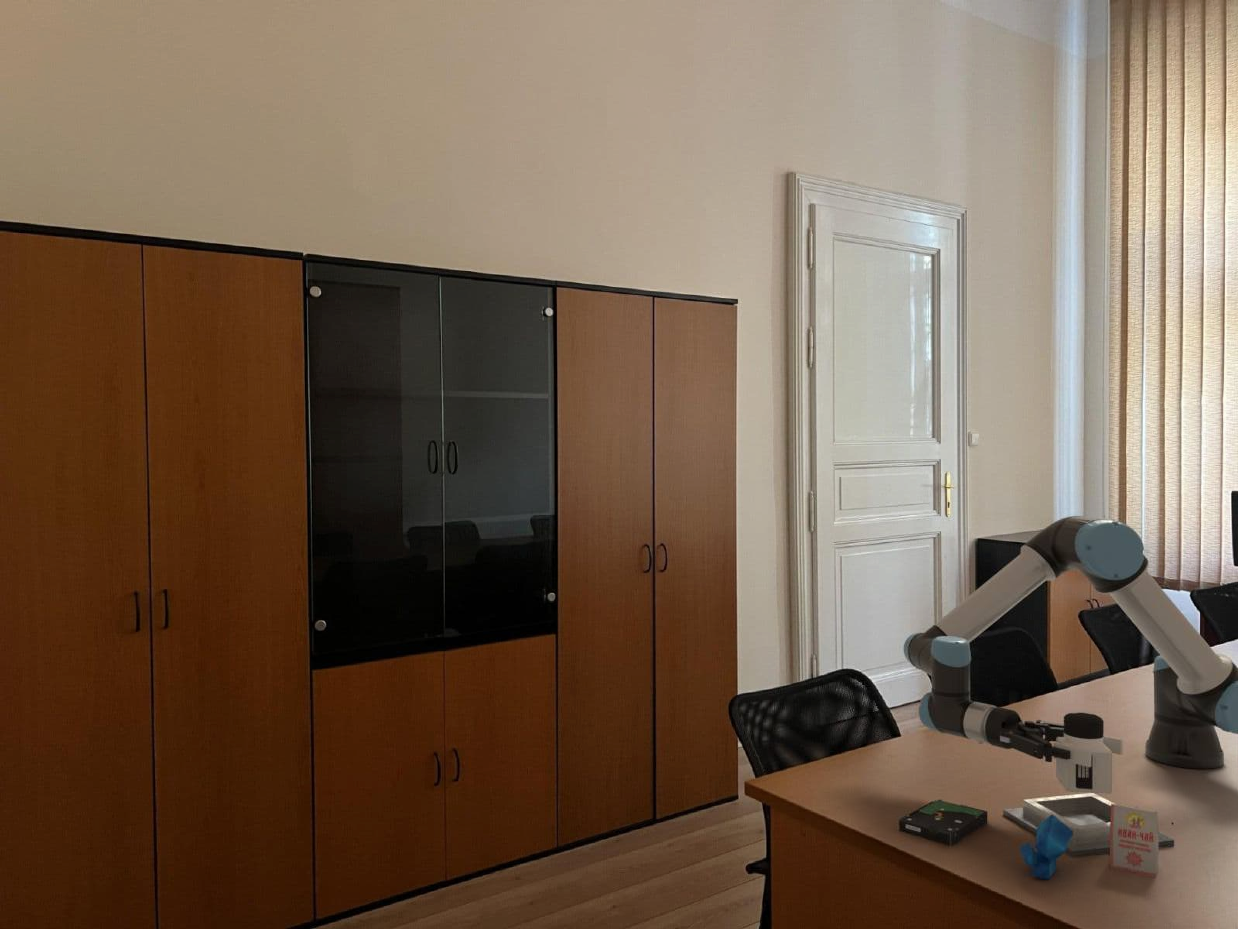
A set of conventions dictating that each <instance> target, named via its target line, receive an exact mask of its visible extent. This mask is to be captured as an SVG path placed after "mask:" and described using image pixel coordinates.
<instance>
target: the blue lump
mask: <svg viewBox="0 0 1238 929" xmlns="http://www.w3.org/2000/svg"><path fill="white" fill-rule="evenodd" d="M1072 835H1073V831H1072V830H1071V829H1070V828H1068V827H1067V826H1066V825H1065V824H1064V823H1062V822H1061V821H1060V820H1059V819H1058V818H1057V817H1055V816H1054V815H1050V816H1049V817H1048V818H1047V819H1046V820H1044V821H1043V822H1042V823H1041V824H1040V825H1038V829H1037V835H1036V838H1035V844H1034V847H1035V849H1034V847H1033V845H1032V843H1030V842H1027V843H1025V844H1022V845H1020V846H1019V851H1020V852H1021V855H1022V857H1023V860H1024V862H1025V863H1026V865H1027V867H1032V876H1033V877H1034V878H1038V879H1041V880H1042V879H1043V880H1046V881H1048V880H1049V879H1051V877H1052V875H1053V874H1054V872H1055V870H1056V869H1057V868H1058V865H1057V862H1058V859H1059V858H1060V857H1061V856H1062V855H1063V854H1065V850H1066V848H1067V846H1068V844H1069V842H1070V839H1071V837H1072Z"/></svg>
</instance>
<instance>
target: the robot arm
mask: <svg viewBox="0 0 1238 929" xmlns="http://www.w3.org/2000/svg"><path fill="white" fill-rule="evenodd" d="M1144 550H1145V546H1144V543H1143V541H1142V539H1141V536H1140V535H1139V534H1138V533H1137V531H1135V530H1134V528H1132V527H1131V526H1129V525H1128V524H1126V523H1124V522H1120V521H1118V520H1115V519H1111V518H1096V517H1089V516H1088V517H1087V516H1083V515H1071V516H1066V517H1063V518H1060V519H1058V520H1056V521H1054V522H1052V523H1051V524H1049V525H1048V526H1047V527H1045V528H1043V529H1042V530H1041V531H1040V532H1039V533H1037V534H1036V535H1035V536H1033V537H1032V538H1031V539H1029V540H1028V541H1026V542H1025V543H1024V544H1023V545H1022V546H1021V547H1020V554H1019V555H1018V556H1016V557H1015V558H1014V559H1012V560H1011V561H1010V562H1009V563H1008V564H1006V565H1005V566H1004V567H1003V568H1001V569H1000V570H999V571H998V572H997V573H996V574H994V575H993V576H991V578H989V579H988V580H987V581H986V582H984V583H983V584H982V585H981V586H979V587H978V588H977V589H976V590H974V592H972V593H971V594H970V595H969V596H967V597H966V598H965V599H964V600H962V601H961V602H960V603H959V604H957V606H956V607H954V608H953V609H952V610H950V611H949V612H948V613H947V614H946V615H944V616H943V617H942V618H940V619H939V620H938V621H937V622H936V623H934V624H933V625H932V626H930V628H928V629H927V630H926V631H924V632H914V633H912V634H911V635H909V636H908V637H907V638H906V640H905V641H904V644H903V653H904V657H905V658H906V659H905V660H907V661H908V662H909V663H910V664H911V666H913V667H915V669H917V670H919V671H922V672H924V673H926V674H927V675H929V676H930V677H931V691H929V692H927V693H925V694H924V695H923V696H922V698H921V699H920V706H918V716H919V720H920V722H921V723H922V724H923V726H924V727H926V728H928V729H930V730H934V731H935V732H939V733H940V734H948V735H951V736H954V737H959V738H963V739H967V740H972V741H976V742H977V743H978V744H979V745H983V744H987V745H991V746H993V747H994V746H995V747H998V748H1001V749H1005V750H1011V749H1012V750H1013V749H1014V750H1016V751H1018V752H1020V753H1023V754H1026V755H1027V756H1030V757H1033V758H1035V759H1039V760H1043V759H1044V761H1045V762H1046V763H1053V759H1055V760H1056V759H1059V760H1063V761H1067V762H1071V763H1075V764H1078V765H1082V766H1086V767H1091V751H1089V750H1085V749H1081V748H1077V747H1073V746H1069V745H1064V744H1060V743H1056V738H1057V737H1064V723H1057V722H1051V721H1046V720H1041V719H1036V720H1035V722H1034V721H1030V720H1025V721H1022V719H1021V717H1020V714H1019V712H1017V711H1015V709H1010V708H1005V707H1001V706H996V705H993V704H988V703H984V702H983V703H982V702H978V701H973V700H971V663H972V662H971V661H972V656H971V648H970V643H971V642H972V641H973V640H975V639H976V638H977V637H978V636H980V635H981V634H982V633H983V632H984V631H986V630H987V629H988V628H989V627H990V626H992V625H993V624H994V623H996V622H997V621H998V620H999V619H1000V618H1001V617H1003V616H1004V615H1005V614H1007V613H1008V612H1009V611H1010V610H1011V609H1013V608H1014V607H1015V606H1016V605H1018V603H1020V602H1021V601H1022V600H1024V599H1025V598H1027V597H1028V596H1029V595H1030V594H1031V593H1032V592H1033V591H1035V590H1036V589H1037V588H1039V587H1040V586H1041V585H1042V584H1043V583H1044V582H1046V581H1049V582H1054V581H1056V579H1057V578H1059V577H1060V576H1061V575H1063V574H1065V573H1067V572H1070V571H1071V572H1072V571H1075V572H1079V573H1081V574H1082V575H1083V576H1084V577H1085V578H1086V580H1087V581H1088V582H1089V583H1090V584H1091V586H1092V587H1093V588H1094V589H1095V590H1096V592H1097V593H1099V594H1102V595H1110V596H1111V598H1112V599H1113V600H1114V601H1115V603H1116V604H1117V605H1118V606H1119V607H1120V608H1121V610H1122V611H1123V612H1124V613H1125V614H1126V616H1127V617H1128V618H1129V619H1130V620H1131V622H1132V623H1133V624H1134V625H1135V627H1137V629H1138V630H1139V632H1140V633H1141V634H1142V635H1143V636H1144V637H1145V639H1146V640H1147V641H1148V643H1150V644H1151V645H1152V647H1153V648H1154V649H1155V650H1156V651H1157V654H1159V655H1157V656H1156V657H1155V659H1154V662H1153V663H1154V664H1153V669H1152V674H1153V709H1154V710H1153V714H1154V716H1153V723H1152V726H1151V729H1150V733H1149V735H1148V739H1147V740H1146V741H1145V746H1144V747H1145V751H1144V752H1145V755H1146V756H1147V757H1148V758H1149V759H1151V760H1153V761H1155V762H1158V763H1161V764H1164V765H1169V766H1173V767H1179V768H1184V769H1185V768H1187V769H1195V770H1196V769H1198V770H1199V769H1201V770H1203V769H1204V770H1205V769H1206V770H1208V769H1216V768H1220V767H1222V766H1224V764H1225V753H1224V750H1223V748H1222V746H1221V743H1220V740H1219V736H1218V734H1217V731H1216V728H1219V729H1220V730H1221V731H1223V732H1226V733H1231V734H1235V735H1238V666H1237V665H1236V664H1235V662H1233V661H1232V659H1231V658H1230V657H1229V656H1227V655H1225V654H1221V653H1220V654H1219V653H1216V652H1215V651H1214V649H1212V648H1211V646H1210V645H1209V644H1208V643H1207V642H1206V640H1205V639H1204V638H1203V637H1202V635H1201V634H1200V632H1198V630H1197V629H1196V628H1195V627H1194V625H1193V624H1192V623H1191V622H1190V620H1188V618H1187V617H1186V616H1185V615H1184V614H1183V612H1182V611H1181V610H1180V608H1178V606H1177V605H1176V603H1174V601H1172V599H1171V598H1170V597H1169V595H1168V594H1167V592H1165V591H1164V589H1163V588H1162V587H1161V586H1160V585H1159V583H1158V582H1157V581H1156V580H1155V578H1154V577H1152V575H1151V573H1149V571H1148V568H1149V563H1150V562H1149V559H1148V558H1147V557H1146V555H1145V554H1144ZM1123 740H1124V739H1123V738H1119V737H1113V736H1110V735H1106V734H1104V739H1103V743H1104V744H1105V745H1106V746H1107V747H1108V748H1109V749H1110V750H1111V751H1112V754H1116V755H1120V756H1121V755H1123V754H1124V751H1123V750H1124V748H1123V747H1124V746H1123V745H1124V744H1123V742H1124V741H1123ZM1052 742H1053V744H1052Z"/></svg>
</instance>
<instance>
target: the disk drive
mask: <svg viewBox="0 0 1238 929" xmlns="http://www.w3.org/2000/svg"><path fill="white" fill-rule="evenodd" d="M898 824H899V825H898V826H899V829H898V831H899V832H901V833H904V834H907V835H912V836H914V837H918V838H922V839H924V840H928V841H933V842H936V843H938V844H942V845H946V846H950V847H952V846H954V845H956V844H957V843H959V842H961V840H963V839H965V838H966V837H968V836H969V835H971V834H972V833H974V832H976V831H978V830H979V829H982V827H984V826H985V825H987V824H988V811H987V810H983V809H979V808H975V807H971V806H968V805H963V804H957V803H951V802H948V801H943V799H940V798H939V799H937V800H936V799H935V800H933V801H930V802H928V803H927V804H925V805H923V806H921V807H919V808H917V809H916V810H914V811H912V812H910V813H908V814H907V815H904V816H902V817H901V818H900V819H899V820H898Z"/></svg>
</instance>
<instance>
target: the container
mask: <svg viewBox="0 0 1238 929" xmlns="http://www.w3.org/2000/svg"><path fill="white" fill-rule="evenodd" d="M1063 724H1064V737H1057V738H1056V743H1060V744H1064V745H1069V746H1073V747H1077V748H1081V749H1085V750H1089V751H1091V767H1086V766H1082V765H1078V764H1075V763H1071V762H1067V761H1063V760H1059V759H1055V766H1056V767H1055V777H1056V779H1057V781H1059V783H1060V784H1061V786H1062V788H1064V790H1065V791H1066V792H1074V793H1094V794H1105V795H1106V794H1107V795H1108V794H1109V795H1110V794H1112V793H1113V753H1112V751H1111V750H1110V749H1109V748H1108V747H1107V746H1106V745H1105V744H1104V743H1103V739H1104V735H1105V734H1104V732H1105V731H1104V730H1105V729H1104V726H1105V725H1104V720H1103V718H1101V717H1100V716H1098V715H1096V714H1094V713H1092V712H1091V713H1090V712H1086V711H1085V712H1084V711H1072V712H1069V713H1066V714H1065V715H1064V716H1063Z"/></svg>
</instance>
